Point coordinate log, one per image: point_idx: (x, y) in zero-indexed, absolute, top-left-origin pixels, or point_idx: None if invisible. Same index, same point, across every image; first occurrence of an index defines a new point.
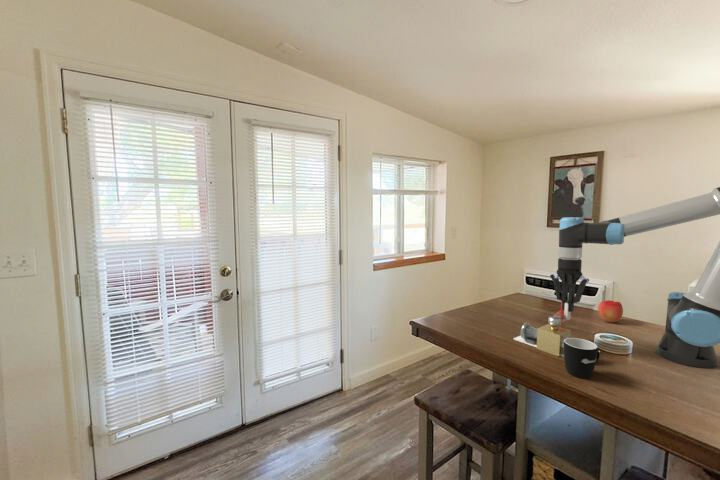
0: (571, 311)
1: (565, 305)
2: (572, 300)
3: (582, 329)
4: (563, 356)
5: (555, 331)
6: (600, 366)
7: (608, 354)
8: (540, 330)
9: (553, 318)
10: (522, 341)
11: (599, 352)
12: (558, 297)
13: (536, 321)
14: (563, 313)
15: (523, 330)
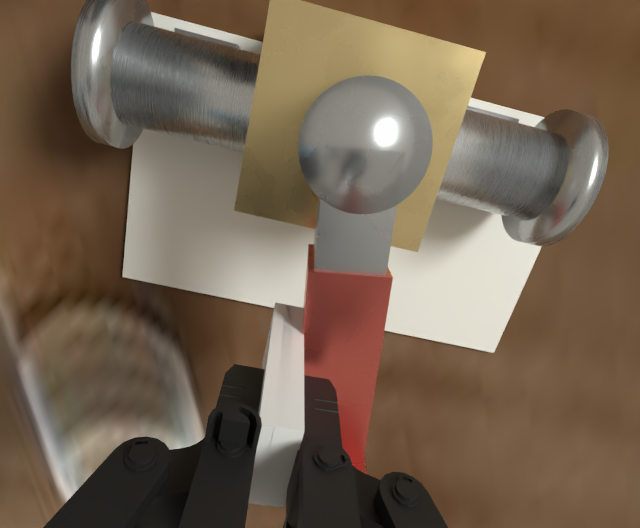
0: (230, 368)
1: (293, 404)
2: (191, 484)
3: (277, 519)
4: (260, 42)
5: (329, 75)
6: (55, 45)
7: (85, 270)
8: (453, 45)
9: (373, 119)
10: (530, 116)
11: (125, 263)
12: (406, 501)
13: (493, 497)
14: (318, 365)
15: (574, 120)
